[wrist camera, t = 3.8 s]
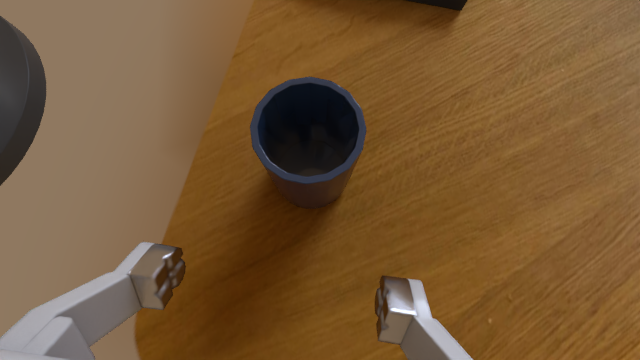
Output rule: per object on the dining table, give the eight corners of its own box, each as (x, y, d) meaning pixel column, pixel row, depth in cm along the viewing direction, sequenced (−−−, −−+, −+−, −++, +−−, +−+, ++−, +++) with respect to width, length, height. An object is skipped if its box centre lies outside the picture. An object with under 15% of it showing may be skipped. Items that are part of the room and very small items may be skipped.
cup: (266, 200, 23) (236, 168, 14) (285, 132, 25) (267, 67, 16) (339, 216, 23) (353, 194, 14) (353, 147, 24) (374, 89, 16)
